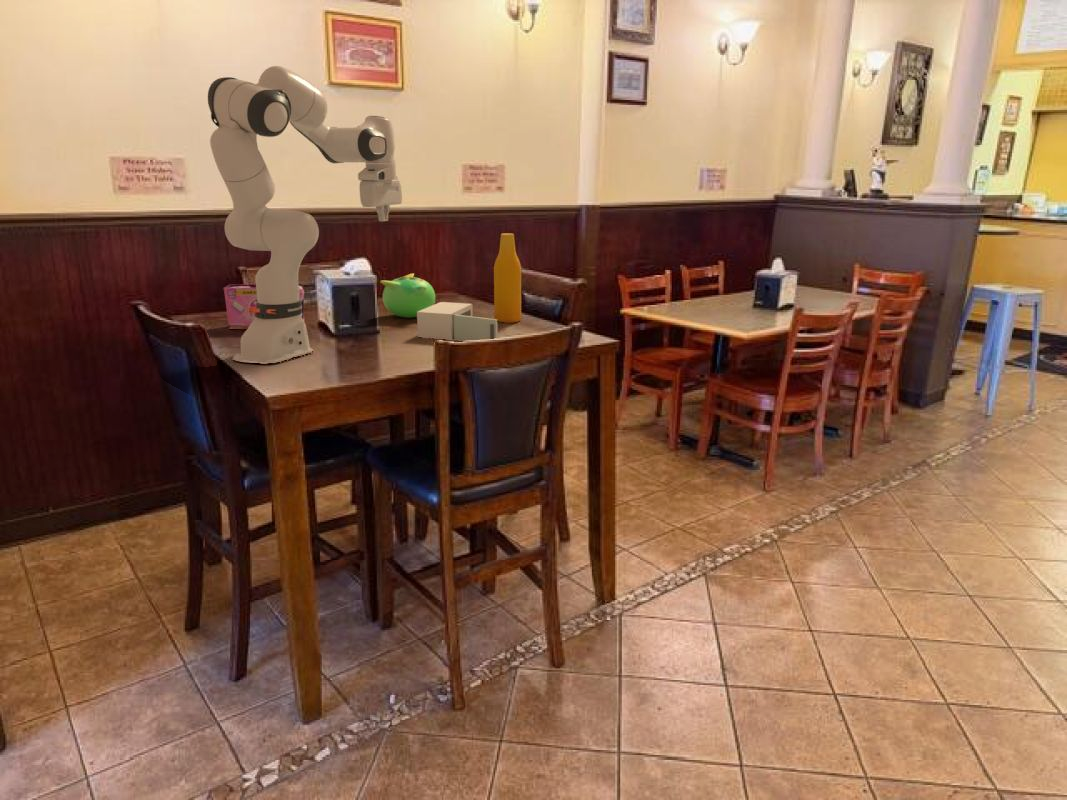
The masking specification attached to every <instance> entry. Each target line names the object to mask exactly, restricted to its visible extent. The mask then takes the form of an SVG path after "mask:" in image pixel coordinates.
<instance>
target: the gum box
mask: <svg viewBox="0 0 1067 800" xmlns="http://www.w3.org/2000/svg"><path fill="white" fill-rule="evenodd" d="M298 289H299V300H300V301H301V305H302V313H301V317H302V319H303V321H304V322H305V303H304V302H305V299H304V295H305V291H304V285H303V283H298ZM223 292H224V299H225V306H226V307H225V308H226V316H227V317H226V318H227V323H228V324H227V325H242V326H250V324H251V323H252V322H253V320H254V319H255V316H254V315H255V314H249V313H248V312H249V311H248V309H249V308H248V307H250V306H251V307H256V303H257V302H258V300H257V290H256V283H243V284H241V283H239V284H237V283H235V284H232V283H231V284H228V285H226V286H225V287H223Z"/></svg>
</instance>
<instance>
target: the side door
mask: <svg viewBox="0 0 1067 800" xmlns="http://www.w3.org/2000/svg"><path fill="white" fill-rule="evenodd" d="M498 323H499V322H497V319H495V318H487V317H479V316H473V317H472V316H464V315H456V314H452V340H454V341H461V342H466V341H465V340H479V339H494V338H498V335H499V333H498V332H499V331H498Z"/></svg>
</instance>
